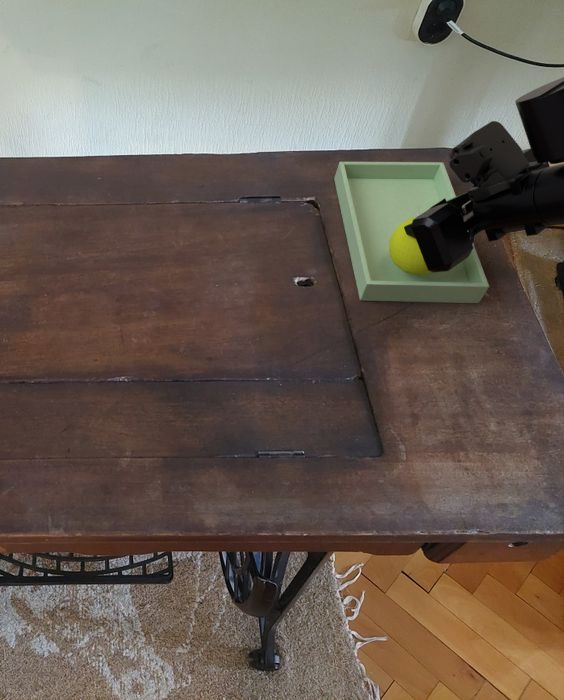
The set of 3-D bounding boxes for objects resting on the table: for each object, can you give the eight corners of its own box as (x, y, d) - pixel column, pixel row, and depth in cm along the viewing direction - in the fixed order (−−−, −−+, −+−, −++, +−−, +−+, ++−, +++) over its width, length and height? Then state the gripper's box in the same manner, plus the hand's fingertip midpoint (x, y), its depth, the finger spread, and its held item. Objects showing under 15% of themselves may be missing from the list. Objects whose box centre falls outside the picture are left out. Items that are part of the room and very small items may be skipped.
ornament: (369, 264, 83) (394, 203, 75) (404, 238, 85) (431, 176, 77) (417, 295, 79) (448, 235, 71) (452, 267, 82) (486, 206, 74)
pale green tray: (435, 179, 93) (443, 162, 91) (478, 303, 80) (489, 286, 77) (334, 178, 95) (339, 161, 92) (359, 300, 81) (366, 284, 79)
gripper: (583, 82, 65) (447, 127, 79) (464, 157, 59) (340, 192, 73) (615, 185, 67) (477, 211, 81) (504, 267, 61) (376, 280, 75)
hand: (419, 221), depth 78 cm, fingers closed on ornament, 5 cm apart
